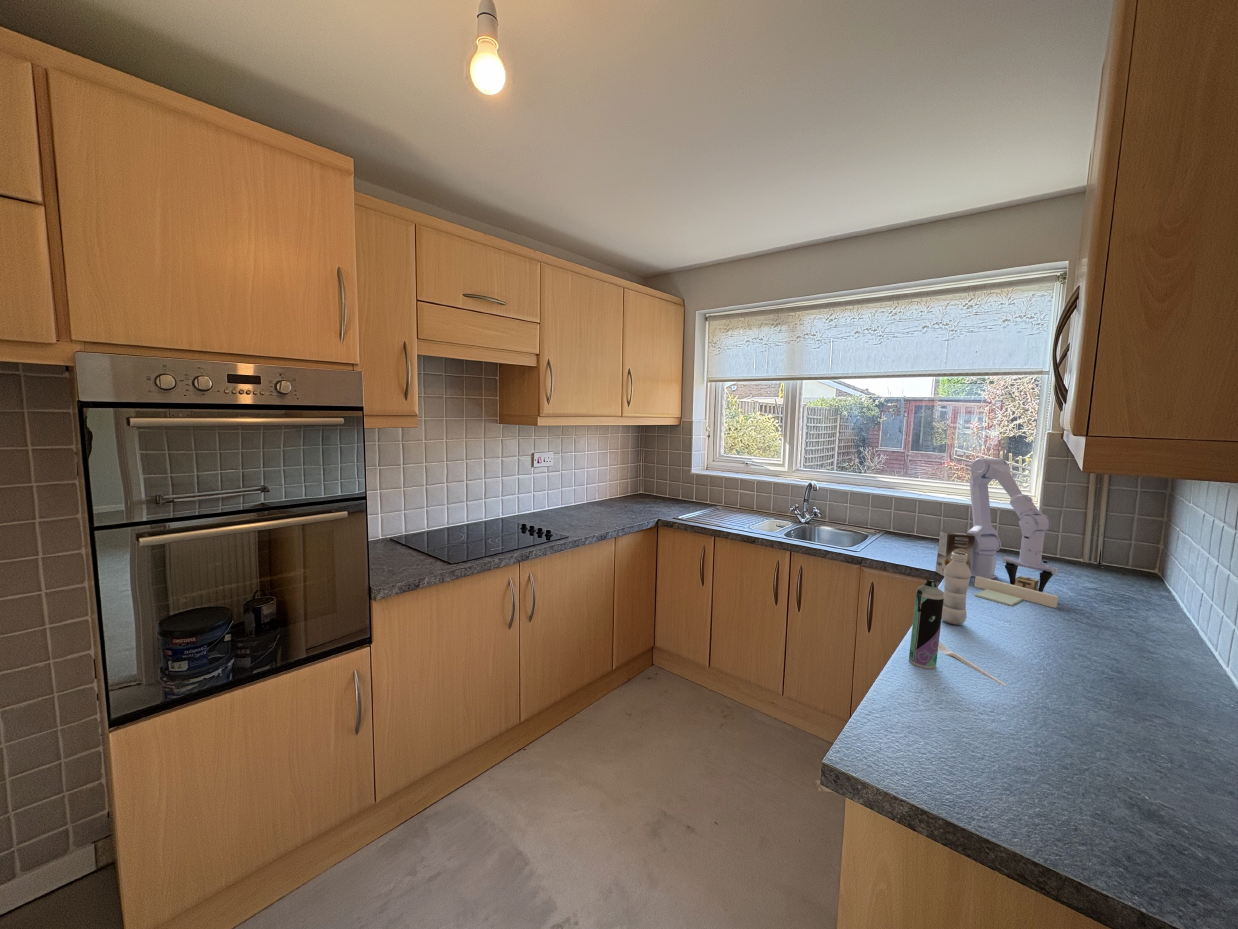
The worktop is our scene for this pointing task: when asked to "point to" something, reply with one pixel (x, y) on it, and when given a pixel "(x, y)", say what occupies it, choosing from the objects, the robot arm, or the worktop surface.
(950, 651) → the fork
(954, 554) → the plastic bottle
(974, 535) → the robot arm
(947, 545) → the coffee box
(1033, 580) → the lettered cube
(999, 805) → the worktop surface
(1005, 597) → the pad
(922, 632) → the spray can
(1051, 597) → the cream board
